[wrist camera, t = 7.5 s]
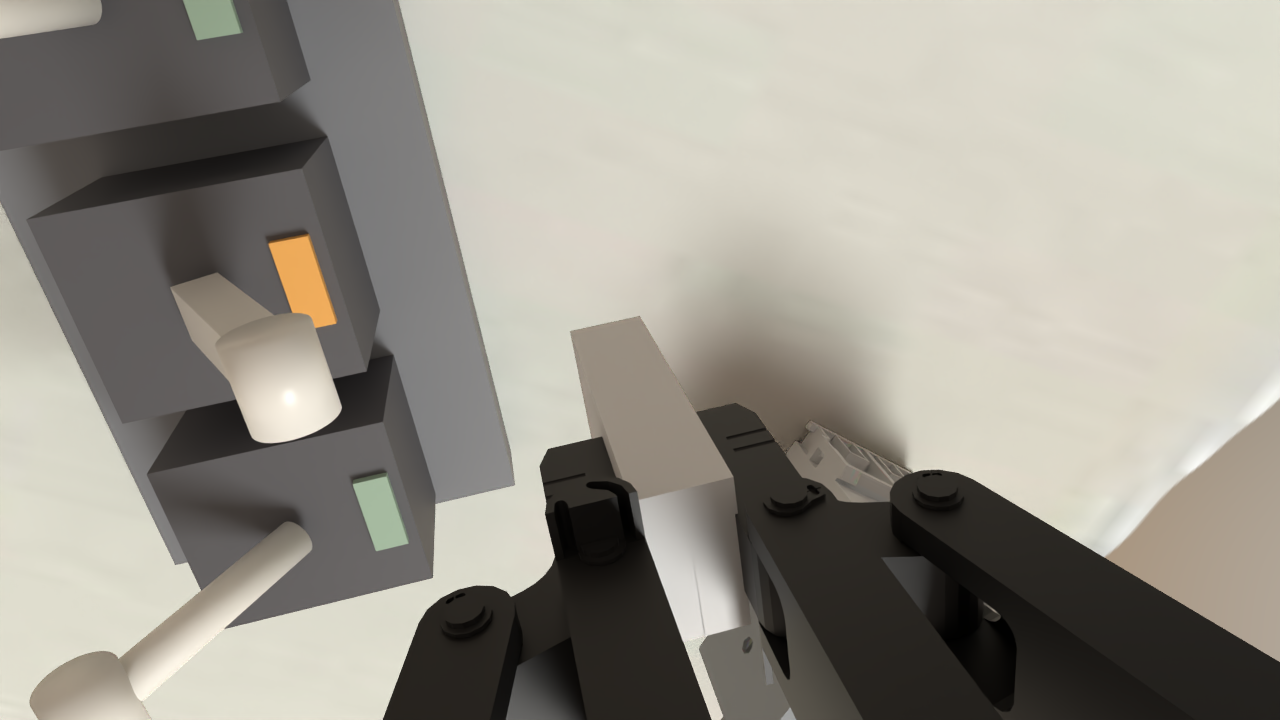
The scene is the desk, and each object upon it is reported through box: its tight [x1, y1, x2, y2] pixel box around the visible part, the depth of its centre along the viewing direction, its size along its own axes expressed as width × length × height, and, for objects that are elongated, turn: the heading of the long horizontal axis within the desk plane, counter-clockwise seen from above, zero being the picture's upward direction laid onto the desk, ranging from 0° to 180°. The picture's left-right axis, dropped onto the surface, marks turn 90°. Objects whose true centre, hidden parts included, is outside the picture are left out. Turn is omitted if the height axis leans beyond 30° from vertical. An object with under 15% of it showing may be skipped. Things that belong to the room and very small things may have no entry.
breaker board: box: [0, 0, 515, 720], centre depth 27 cm, size 15×26×17 cm, turn 8°
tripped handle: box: [170, 272, 342, 443], centre depth 23 cm, size 2×2×9 cm
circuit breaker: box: [699, 420, 1000, 720], centre depth 41 cm, size 8×14×15 cm, turn 148°
